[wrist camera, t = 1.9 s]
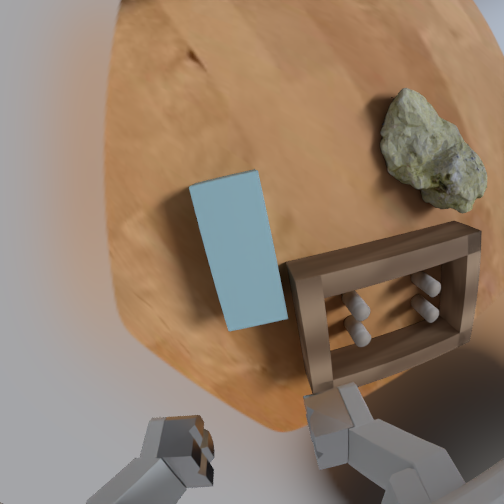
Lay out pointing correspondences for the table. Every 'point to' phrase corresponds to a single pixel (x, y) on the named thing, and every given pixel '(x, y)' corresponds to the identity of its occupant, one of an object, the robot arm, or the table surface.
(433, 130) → the rock
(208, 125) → the table surface
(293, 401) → the table surface
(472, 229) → the frame
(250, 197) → the light blue rectangular block
